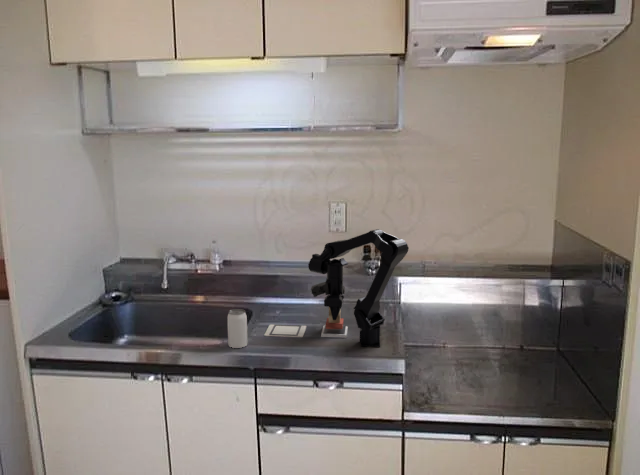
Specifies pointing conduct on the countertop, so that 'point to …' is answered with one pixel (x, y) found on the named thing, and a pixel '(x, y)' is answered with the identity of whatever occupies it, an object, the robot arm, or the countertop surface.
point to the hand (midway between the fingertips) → (334, 318)
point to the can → (237, 328)
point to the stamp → (334, 321)
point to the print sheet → (285, 330)
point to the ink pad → (334, 332)
